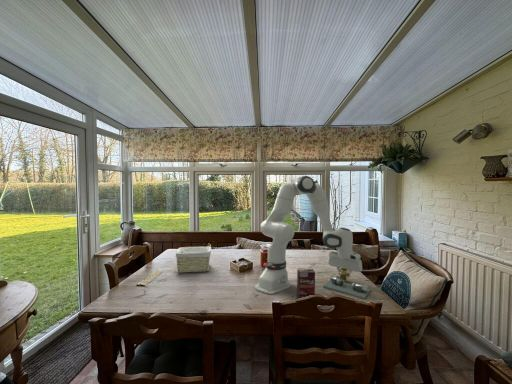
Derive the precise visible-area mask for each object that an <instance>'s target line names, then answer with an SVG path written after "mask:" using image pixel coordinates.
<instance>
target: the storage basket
mask: <svg viewBox="0 0 512 384" xmlns="http://www.w3.org/2000/svg"><path fill="white" fill-rule="evenodd" d="M211 251H212V247H211V246H184V247H183V246H182V247H178V248H177V251H176V253H175V258H176V269H177V274H181V273H201V272H209V271H210V260H211V259H210V258H211V254H212V252H211Z"/></svg>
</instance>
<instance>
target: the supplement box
mask: <svg viewBox="0 0 512 384" xmlns="http://www.w3.org/2000/svg"><path fill="white" fill-rule="evenodd" d="M296 271H297V275H296V277H297V278H296V299H297V298H302V297H306V296H309V295H316V293H315V291H316V290H315V289H316V271H315V270H314V269H313V268H310V269H309V268H308V269H307V268H306V269H305V268H304V269H303V268H301V269H297V270H296Z"/></svg>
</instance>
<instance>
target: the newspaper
mask: <svg viewBox="0 0 512 384" xmlns="http://www.w3.org/2000/svg"><path fill="white" fill-rule="evenodd" d="M163 272H164V271H163V270H159V269H157V270H154V271H153V272H152V273H150V274H148V275H147V276H146V277H145V278H144V279H142V280H141V281H140V282H138V283H136V285H135V286H136V287H137V286H139V285H143V286H144V287H146V286H147V285H149V284H150V283H151V282H153V281H154V280H155V279H156V278H157V277H158V276H159V275H161V274H162V273H163Z"/></svg>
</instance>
